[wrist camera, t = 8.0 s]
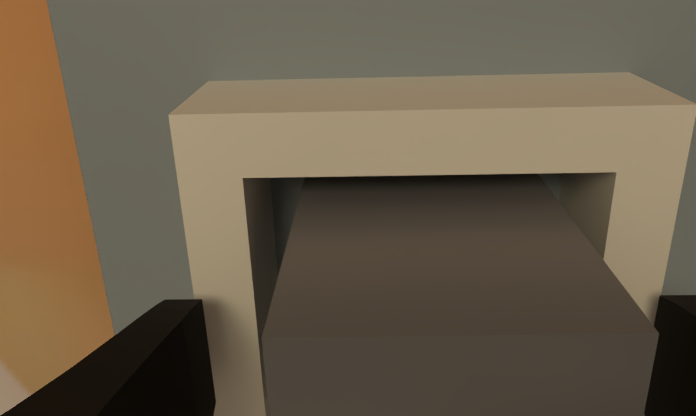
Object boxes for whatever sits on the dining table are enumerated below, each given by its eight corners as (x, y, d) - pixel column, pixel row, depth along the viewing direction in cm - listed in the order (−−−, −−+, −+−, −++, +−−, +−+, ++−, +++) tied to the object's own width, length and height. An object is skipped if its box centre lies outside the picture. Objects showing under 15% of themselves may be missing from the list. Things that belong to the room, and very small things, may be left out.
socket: (793, -129, 11) (977, -163, 7) (657, 481, 16) (731, 616, 13) (52, -105, 11) (-76, -127, 8) (162, 480, 17) (113, 609, 13)
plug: (521, 151, 12) (659, 333, 6) (507, 330, 13) (607, 604, 8) (310, 156, 12) (261, 337, 6) (320, 332, 13) (288, 602, 8)
